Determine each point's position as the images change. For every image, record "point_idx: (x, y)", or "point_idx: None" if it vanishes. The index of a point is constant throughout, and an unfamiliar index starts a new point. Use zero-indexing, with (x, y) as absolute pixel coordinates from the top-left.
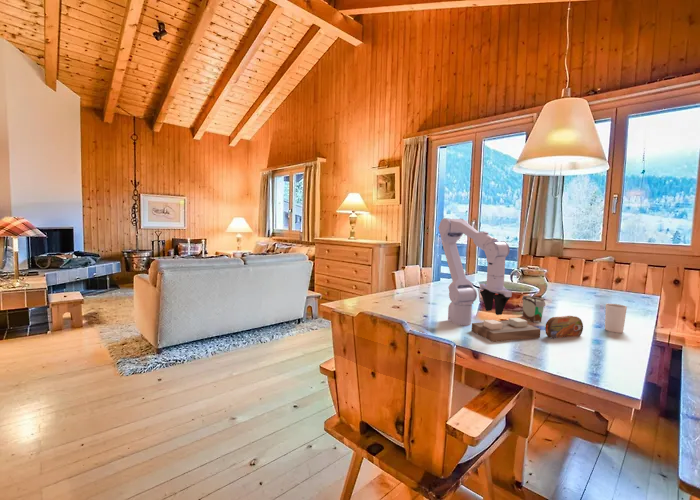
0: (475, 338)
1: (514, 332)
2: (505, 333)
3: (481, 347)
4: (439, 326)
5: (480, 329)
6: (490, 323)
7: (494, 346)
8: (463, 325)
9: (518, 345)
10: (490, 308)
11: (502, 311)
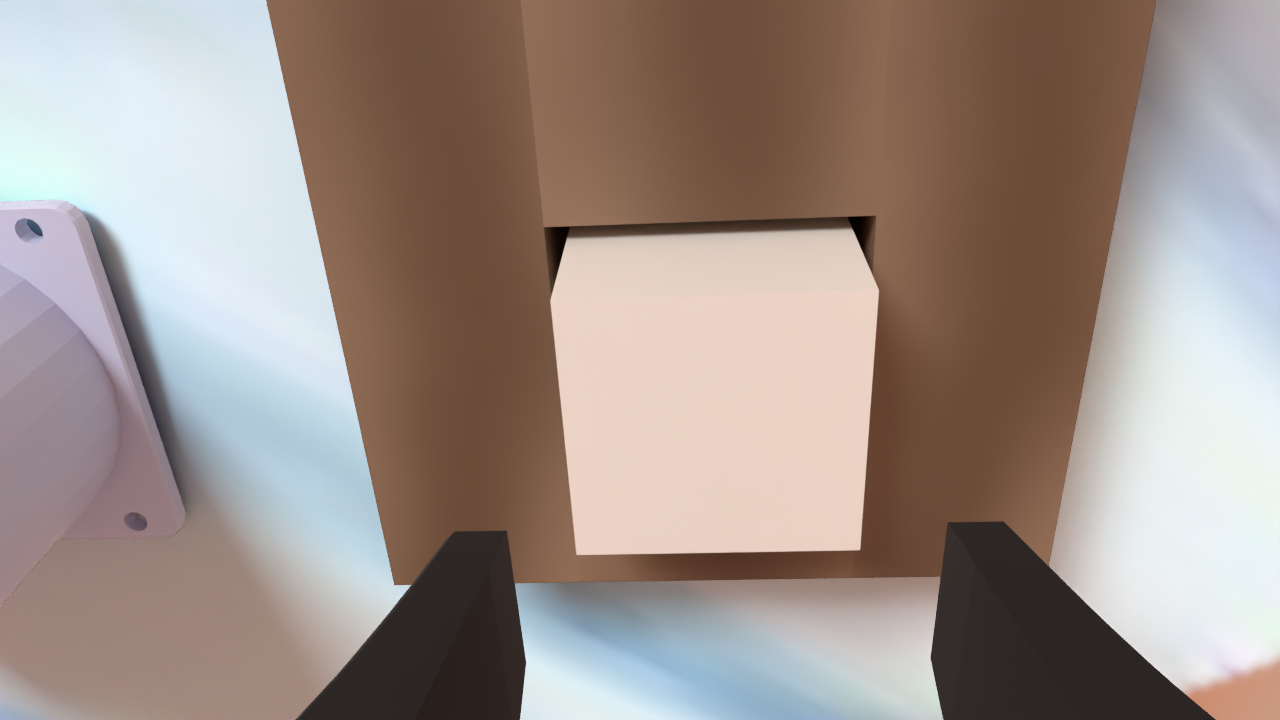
0: None
1: (1128, 83)
2: (1085, 321)
3: None
4: (81, 695)
5: None
6: (805, 547)
7: None
8: (113, 454)
9: (1193, 52)
10: (499, 614)
11: (1056, 585)
